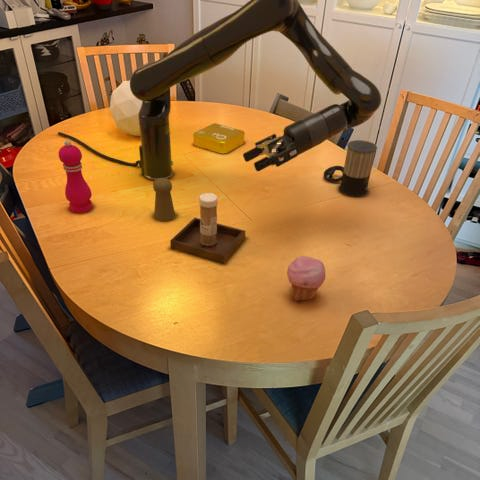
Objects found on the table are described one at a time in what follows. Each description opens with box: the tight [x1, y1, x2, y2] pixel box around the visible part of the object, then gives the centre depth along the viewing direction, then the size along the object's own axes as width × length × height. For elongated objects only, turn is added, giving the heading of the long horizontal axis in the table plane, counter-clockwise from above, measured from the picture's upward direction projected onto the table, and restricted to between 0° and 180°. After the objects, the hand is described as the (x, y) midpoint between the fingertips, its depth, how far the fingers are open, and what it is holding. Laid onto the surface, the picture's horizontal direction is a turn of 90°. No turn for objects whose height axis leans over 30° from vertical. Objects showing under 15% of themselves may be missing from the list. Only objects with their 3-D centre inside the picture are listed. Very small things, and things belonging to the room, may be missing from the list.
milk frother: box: [323, 139, 378, 197], centre depth 150 cm, size 14×16×15 cm
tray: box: [169, 217, 247, 265], centre depth 125 cm, size 16×14×2 cm
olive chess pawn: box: [152, 178, 176, 222], centre depth 132 cm, size 6×6×11 cm
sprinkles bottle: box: [198, 192, 218, 246], centre depth 121 cm, size 5×5×14 cm
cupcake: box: [286, 255, 326, 302], centre depth 107 cm, size 9×9×10 cm
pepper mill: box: [58, 139, 93, 214], centre depth 131 cm, size 7×7×20 cm
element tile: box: [192, 122, 246, 155], centre depth 177 cm, size 15×15×5 cm
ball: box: [109, 80, 142, 137], centre depth 177 cm, size 19×20×20 cm
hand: (249, 162), depth 117 cm, fingers open, 8 cm apart
